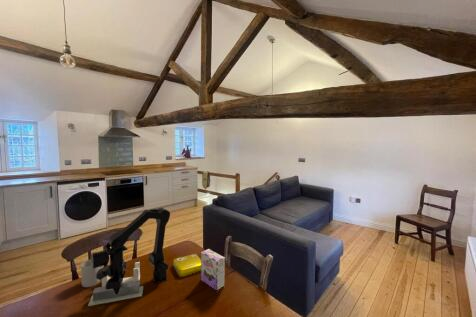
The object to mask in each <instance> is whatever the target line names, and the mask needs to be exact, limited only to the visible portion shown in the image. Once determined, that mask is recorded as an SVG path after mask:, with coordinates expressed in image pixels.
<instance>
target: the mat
mask: <svg viewBox="0 0 476 317" xmlns="http://www.w3.org/2000/svg"><path fill="white" fill-rule="evenodd" d="M143 291H144V285H141V286H140V289H139V293H135V294H130V295H124V296H119V297H114V298H108V299H103V300H98V301H93V294H92V296H91V297H90V300H89V302H88V304H87V305H88V307H91V306H95V305H100V304H101V305H102V304H108V303H113V302H118V301H122V300H128V299H134V298H139V297H143V293H144V292H143Z"/></svg>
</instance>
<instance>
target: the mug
mask: <svg viewBox="0 0 476 317" xmlns="http://www.w3.org/2000/svg"><path fill="white" fill-rule="evenodd" d="M80 268H81V269H80V273H81V274H80V275H81V276H80V277H81V286H82V287H83V288H90V287H93V286H96V285H97V284H99V283H100V281H101V280H98V279H96V277H97V276H96V274H97V272H98V270H99V269H101V268H103V266H100V267H97V268H94V269H92V265H91V259H88V260H85V261H83V262H82V263H81V264H80Z"/></svg>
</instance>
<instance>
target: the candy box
mask: <svg viewBox="0 0 476 317" xmlns="http://www.w3.org/2000/svg"><path fill="white" fill-rule="evenodd" d="M200 256H201V257H200V259H201V271H200V280H202V281H201V282H203V283H204V282H205V283H204V284H206V285H207V284H208V285H209V286H208V285H207V286H208V287H210V286H211V287H212V288H211V287H210V288H211V289H213V288H214V289H215V290H218V289H220V288H221V287H223V286H224V287H225V279H226V278H225V277H226V276H225V275H226V274H225V273H226V272H225V270H226V269H225V267H226V257H225V256H223V255H221V254H219V253H217V252H215V251H213V250H212V249H210V248H208V249H207V248H206V250H203V251H201V252H200ZM214 289H213V290H214ZM215 290H214V291H215ZM220 290H221V289H220ZM218 291H219V290H218Z"/></svg>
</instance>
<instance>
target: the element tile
mask: <svg viewBox="0 0 476 317" xmlns="http://www.w3.org/2000/svg"><path fill="white" fill-rule="evenodd" d="M173 268H174V270H175V271H176V272H175V273H177V275H178V277H180V278H182V277H186V276H187V277H188V276H190V275H193V274H196V273H195V272H197V273H199V272H198V271H200V272H201V257H199V256H198V255H197V253H192V254H188V255H185V256H181V257H177V258H174V259H173ZM192 273H193V274H192Z"/></svg>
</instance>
